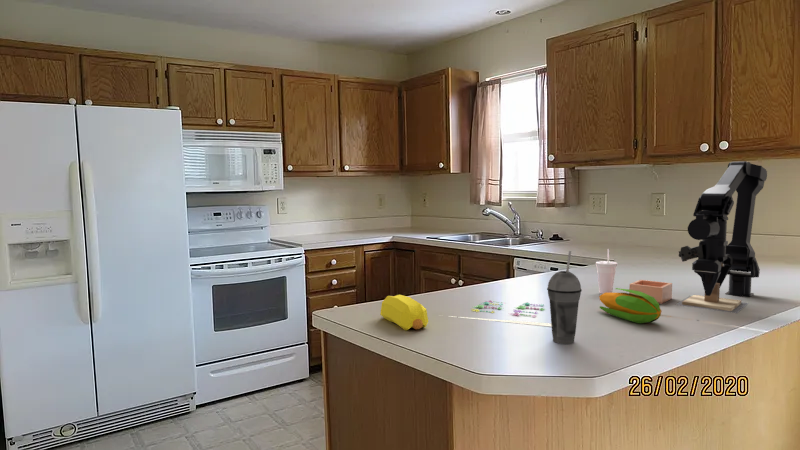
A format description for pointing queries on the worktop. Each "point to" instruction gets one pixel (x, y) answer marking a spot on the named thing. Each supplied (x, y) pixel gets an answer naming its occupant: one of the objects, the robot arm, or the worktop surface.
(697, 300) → the lid
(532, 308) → the printed paper
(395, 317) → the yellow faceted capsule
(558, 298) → the beverage cup
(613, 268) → the smoothie
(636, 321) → the corn
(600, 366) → the worktop surface
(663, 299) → the open box
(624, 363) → the worktop surface
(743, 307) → the mat
